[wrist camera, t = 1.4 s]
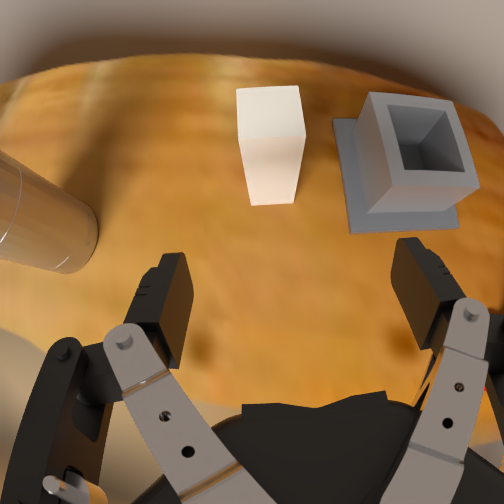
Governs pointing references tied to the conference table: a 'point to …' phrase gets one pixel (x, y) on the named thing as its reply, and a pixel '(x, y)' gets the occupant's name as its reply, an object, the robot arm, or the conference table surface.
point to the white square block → (271, 141)
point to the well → (403, 164)
